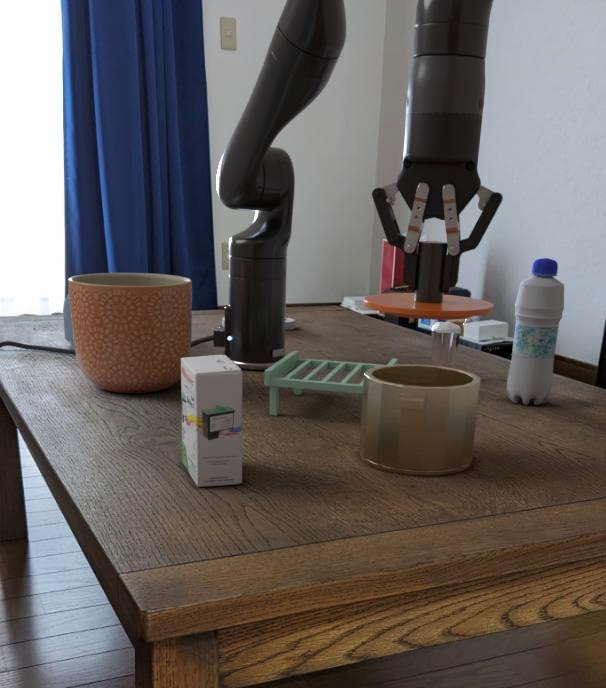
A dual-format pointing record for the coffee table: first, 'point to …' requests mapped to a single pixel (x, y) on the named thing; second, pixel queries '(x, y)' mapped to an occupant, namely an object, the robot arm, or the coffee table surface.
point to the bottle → (536, 334)
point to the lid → (429, 292)
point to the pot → (419, 419)
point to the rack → (312, 376)
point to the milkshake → (444, 343)
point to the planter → (131, 329)
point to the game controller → (288, 323)
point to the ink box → (212, 420)
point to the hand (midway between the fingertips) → (429, 290)
